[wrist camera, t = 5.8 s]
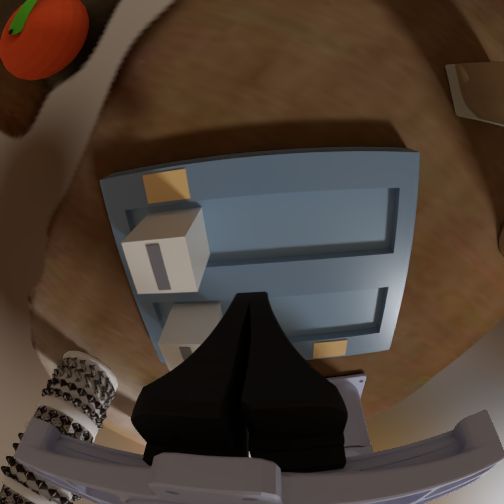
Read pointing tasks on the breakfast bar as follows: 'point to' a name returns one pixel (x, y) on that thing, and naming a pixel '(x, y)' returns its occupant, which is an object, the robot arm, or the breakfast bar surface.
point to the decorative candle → (63, 423)
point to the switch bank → (288, 237)
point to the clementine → (43, 37)
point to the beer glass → (501, 240)
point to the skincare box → (478, 90)
